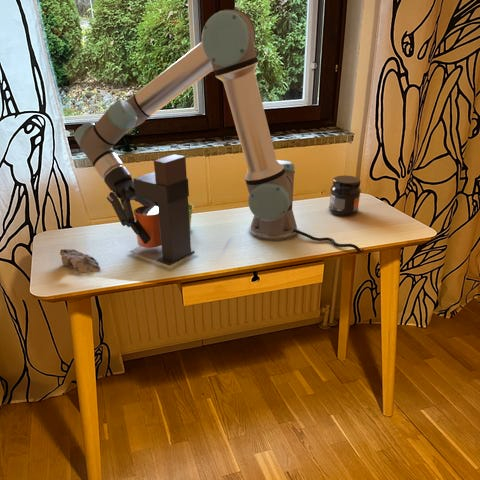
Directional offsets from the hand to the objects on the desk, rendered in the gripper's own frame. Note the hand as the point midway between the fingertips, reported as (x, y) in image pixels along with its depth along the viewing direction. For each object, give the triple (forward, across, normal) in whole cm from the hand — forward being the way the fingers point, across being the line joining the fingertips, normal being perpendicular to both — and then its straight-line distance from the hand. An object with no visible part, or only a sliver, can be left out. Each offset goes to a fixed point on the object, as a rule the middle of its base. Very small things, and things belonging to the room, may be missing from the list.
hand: (158, 236), depth 149 cm
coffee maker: (+5, 0, -4) cm, 6 cm away
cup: (-1, 0, -4) cm, 4 cm away
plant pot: (0, -17, -9) cm, 19 cm away
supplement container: (+25, -66, +16) cm, 72 cm away
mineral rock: (-4, +19, -14) cm, 24 cm away
